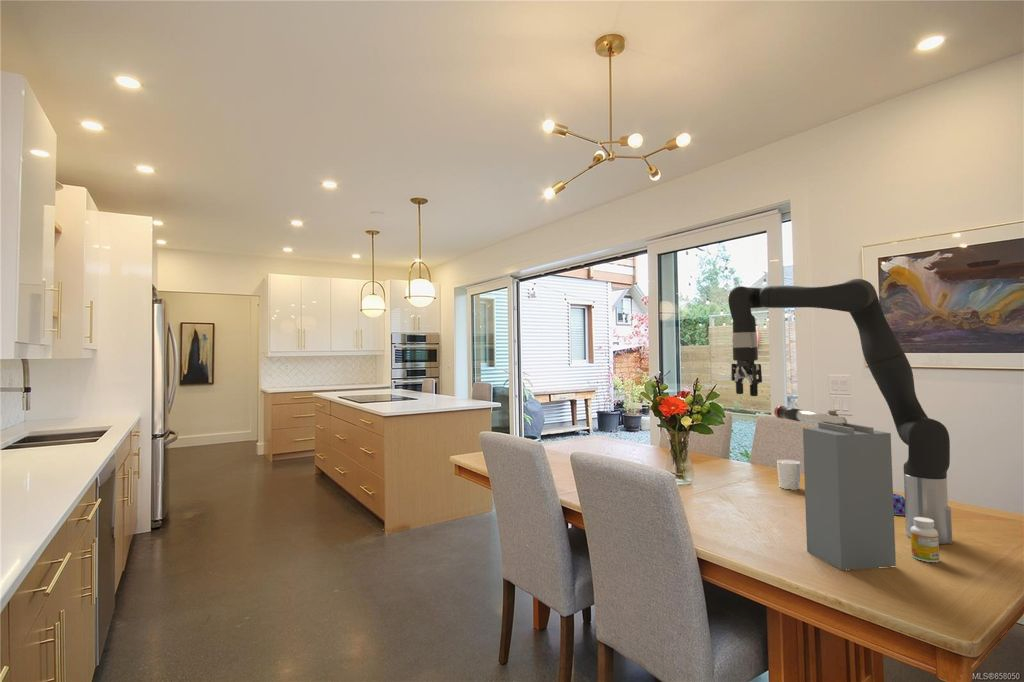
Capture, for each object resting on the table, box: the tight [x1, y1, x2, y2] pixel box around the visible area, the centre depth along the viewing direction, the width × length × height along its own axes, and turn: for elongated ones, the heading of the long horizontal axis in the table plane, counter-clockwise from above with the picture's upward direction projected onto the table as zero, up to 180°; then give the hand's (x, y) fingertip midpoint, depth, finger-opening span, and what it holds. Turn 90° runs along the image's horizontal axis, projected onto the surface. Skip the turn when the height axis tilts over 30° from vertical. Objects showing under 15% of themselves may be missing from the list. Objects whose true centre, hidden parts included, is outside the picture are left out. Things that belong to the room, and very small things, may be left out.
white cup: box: [776, 459, 801, 491], centre depth 192 cm, size 8×8×10 cm
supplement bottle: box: [910, 517, 940, 564], centre depth 125 cm, size 5×5×10 cm
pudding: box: [893, 493, 905, 516], centre depth 163 cm, size 12×12×5 cm
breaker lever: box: [773, 405, 848, 427], centre depth 140 cm, size 25×4×4 cm, turn 5°
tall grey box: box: [802, 422, 897, 571], centre depth 126 cm, size 12×14×33 cm
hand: (746, 395), depth 167 cm, fingers open, 8 cm apart
